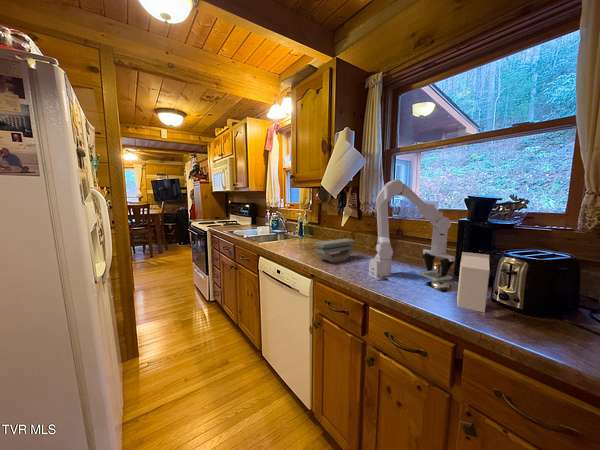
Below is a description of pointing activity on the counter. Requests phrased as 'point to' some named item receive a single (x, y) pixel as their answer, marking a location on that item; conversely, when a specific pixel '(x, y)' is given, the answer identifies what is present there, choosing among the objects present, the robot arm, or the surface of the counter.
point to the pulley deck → (453, 288)
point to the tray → (435, 278)
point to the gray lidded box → (335, 249)
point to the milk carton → (473, 281)
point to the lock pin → (436, 270)
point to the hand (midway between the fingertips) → (436, 273)
